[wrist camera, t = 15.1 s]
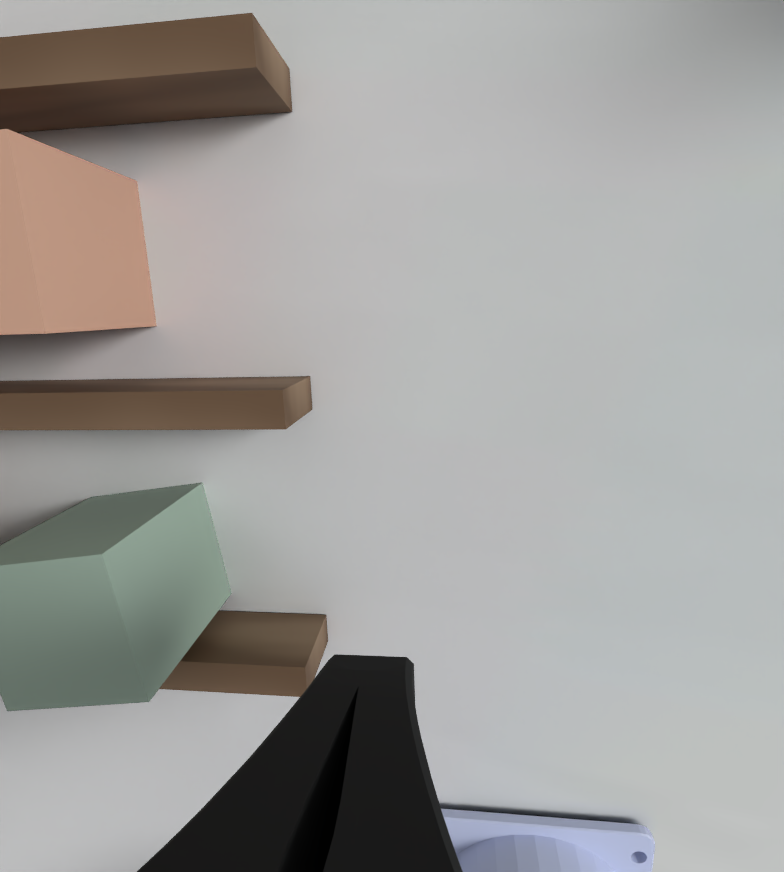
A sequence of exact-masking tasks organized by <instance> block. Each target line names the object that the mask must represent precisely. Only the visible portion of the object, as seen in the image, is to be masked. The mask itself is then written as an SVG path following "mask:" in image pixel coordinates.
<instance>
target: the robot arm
mask: <svg viewBox="0 0 784 872" xmlns="http://www.w3.org/2000/svg"><path fill="white" fill-rule="evenodd" d="M654 851H655V842H654V839H653V836H652V834H651V832H650V830H649V829H648V828H647V827H645V826H643V825H639V824H630V823H618V822H605V821H592V820H580V819H567V818H554V817H542V816H529V815H516V814H504V813H491V812H479V811H466V810H453V809H441V807H440V804H439V801H438V798H437V795H436V791H435V788H434V785H433V781H432V778H431V774H430V770H429V767H428V763H427V759H426V755H425V751H424V747H423V743H422V739H421V735H420V730H419V726H418V721H417V715H416V709H415V688H414V664H413V663H412V662H411V661H410V660H409V659H408V658H407V657H386V656H360V655H334V656H333V657H332V658H331V659H329V660H328V662H327V663H326V664H325V666H324V667H323V668H322V670H321V671H320V672H319V674H318V675H317V676H316V678H315V679H314V680H313V681H312V683H311V684H310V685H309V687H308V688H307V689H306V690H305V692H304V693H303V694H302V696H301V697H300V698H299V699H298V701H297V702H296V703H295V704H294V706H293V707H292V708H291V709H290V711H289V712H288V713H287V714H286V715H285V717H284V718H283V719H282V720H281V721H280V723H279V724H278V725H277V726H276V727H275V728H274V730H273V731H272V732H271V733H270V734H269V736H268V737H267V738H266V739H265V740H264V741H263V743H262V744H261V745H260V746H259V747H258V748H257V750H256V751H255V752H254V753H253V754H252V755H251V757H250V758H249V759H248V760H247V761H246V762H245V763H244V764H243V765H242V766H241V768H240V769H239V770H238V771H237V772H236V773H235V774H234V775H233V776H232V777H231V778H230V779H229V780H228V781H227V783H226V784H225V785H224V786H223V787H222V788H221V789H220V790H219V791H218V792H217V793H216V794H215V795H214V796H213V798H212V799H211V800H210V801H209V802H208V803H207V804H206V805H205V806H204V807H203V808H202V809H201V810H200V811H199V812H198V813H197V814H196V815H195V816H194V817H193V818H192V819H191V820H190V821H189V822H188V823H187V824H186V825H185V826H184V827H183V828H182V829H181V830H180V831H179V832H178V833H177V834H176V835H175V836H174V837H173V838H172V839H171V840H170V841H169V842H168V843H167V844H166V845H165V846H164V847H163V848H162V849H161V850H160V851H159V852H157V853H156V854H155V855H154V856H153V857H152V858H151V859H150V860H149V861H148V862H147V863H146V864H145V865H144V866H142V867H141V868H140V869H139V870H138V871H137V872H652V867H653V859H654Z"/></svg>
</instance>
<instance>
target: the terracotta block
mask: <svg viewBox="0 0 784 872" xmlns="http://www.w3.org/2000/svg"><path fill="white" fill-rule="evenodd" d="M151 326H156V319H155V311H154V304H153V296H152V289H151V281H150V274H149V267H148V259H147V252H146V244H145V237H144V229H143V222H142V215H141V207H140V200H139V192H138V185H137V181H135V180H133V179H131V178H128V177H126V176H123V175H121V174H118V173H116V172H113V171H111V170H108V169H106V168H103V167H101V166H98V165H96V164H93V163H91V162H88V161H86V160H83V159H81V158H78V157H76V156H73V155H71V154H68V153H66V152H63V151H61V150H58V149H56V148H53V147H51V146H48V145H46V144H43V143H41V142H39V141H36V140H34V139H31V138H29V137H26V136H24V135H21V134H19V133H16V132H14V131H11V130H9V129H0V335H8V334H47V333H62V332H77V331H92V330H107V329H122V328H136V327H151Z"/></svg>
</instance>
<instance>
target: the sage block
mask: <svg viewBox="0 0 784 872" xmlns="http://www.w3.org/2000/svg"><path fill="white" fill-rule="evenodd" d="M230 595H231V589H230V586H229V582H228V578H227V574H226V570H225V567H224V563H223V559H222V555H221V551H220V548H219V544H218V540H217V536H216V532H215V528H214V525H213V521H212V517H211V513H210V509H209V506H208V502H207V498H206V494H205V490H204V487H203V483H196V484H188V485H181V486H173V487H165V488H158V489H150V490H142V491H134V492H127V493H119V494H111V495H104V496H96V497H91V498H89V499H87V500H85V501H83V502H81V503H79V504H77V505H75V506H74V507H72V508H70V509H68V510H66V511H64V512H62V513H60V514H58V515H57V516H55V517H53V518H51V519H49V520H47V521H45V522H43V523H42V524H40V525H38V526H36V527H34V528H32V529H30V530H28V531H26V532H25V533H23V534H21V535H19V536H17V537H15V538H13V539H11V540H9V541H8V542H6V543H4V544H2V545H0V694H1V697H2V699H3V702H4V704H5V707H6V709H7V711H17V710H32V709H48V708H63V707H78V706H94V705H109V704H124V703H140V702H149V701H150V700H151V699H152V697H153V696H154V695H155V693H156V692H157V691H158V689H159V688H160V687H161V685H162V684H163V683H164V682H165V680H166V679H167V678H168V676H169V675H170V674H171V672H172V671H173V670H174V668H175V667H176V666H177V664H178V663H179V662H180V660H181V659H182V658H183V657H184V655H185V654H186V653H187V651H188V650H189V649H190V647H191V646H192V645H193V643H194V642H195V641H196V639H197V638H198V637H199V635H200V634H201V633H202V632H203V630H204V629H205V628H206V626H207V625H208V624H209V622H210V621H211V620H212V618H213V617H214V616H215V614H216V613H217V612H218V610H219V609H220V608H221V607H222V605H223V604H224V603H225V601H226V600H227V599H228V597H229V596H230Z"/></svg>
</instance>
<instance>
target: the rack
mask: <svg viewBox="0 0 784 872" xmlns="http://www.w3.org/2000/svg"><path fill="white" fill-rule="evenodd" d="M282 112H292V102H291V87H290V72H289V67H288V66H287V64H286V63H285V61H284V60H283V58H282V57H281V55H280V54H279V52H278V51H277V49H276V48H275V46H274V45H273V44H272V42H271V41H270V39H269V38H268V36H267V35H266V33H265V32H264V30H263V29H262V27H261V26H260V24H259V23H258V21H257V20H256V18H255V17H254V15H253V14H252V13H246V14H236V15H226V16H216V17H205V18H195V19H185V20H175V21H164V22H154V23H144V24H134V25H123V26H113V27H103V28H93V29H82V30H72V31H62V32H52V33H41V34H31V35H21V36H11V37H0V129H9V130H11V131H14V132H27V131H41V130H54V129H67V128H81V127H94V126H108V125H121V124H135V123H148V122H161V121H175V120H188V119H202V118H215V117H228V116H242V115H255V114H269V113H282ZM311 410H312V398H311V383H310V376H300V377H234V378H168V379H102V380H36V381H0V430H221V429H287V428H288V427H289V426H291V425H292V424H293V423H295V422H296V421H298V420H299V419H300V418H302V417H303V416H304V415H306V414H307V413H308V412H310V411H311ZM327 642H328V634H327V620H326V615H318V614H291V613H265V612H239V611H218V612H217V613H216V614H215V616H214V617H213V618H212V620H211V621H210V622H209V624H208V625H207V626H206V628H205V629H204V630H203V632H202V633H201V634H200V635H199V637H198V638H197V639H196V641H195V642H194V643H193V645H192V646H191V647H190V649H189V650H188V651H187V653H186V654H185V655H184V657H183V658H182V659H181V660H180V662H179V663H178V664H177V666H176V667H175V668H174V670H173V671H172V672H171V674H170V675H169V676H168V678H167V679H166V680H165V682H164V683H163V684H162V685H161V687H160V688H159V689H171V690H189V691H207V692H224V693H242V694H260V695H277V696H295V697H301V696H302V694H303V693H304V692H305V690H306V689H307V688H308V687H309V685H310V684H311V683H312V681H313V680H314V678H315V675H316V672H317V670H318V667H319V664H320V661H321V659H322V656H323V653H324V650H325V648H326V645H327Z"/></svg>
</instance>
